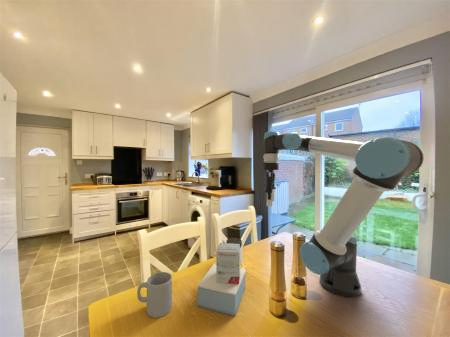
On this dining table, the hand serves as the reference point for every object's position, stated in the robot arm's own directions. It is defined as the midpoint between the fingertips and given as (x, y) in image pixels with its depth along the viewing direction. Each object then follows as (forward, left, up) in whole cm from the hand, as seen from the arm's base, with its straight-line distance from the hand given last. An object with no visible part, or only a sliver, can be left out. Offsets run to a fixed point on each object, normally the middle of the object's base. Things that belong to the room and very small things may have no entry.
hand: (270, 203), depth 99 cm
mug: (+36, +45, -32) cm, 66 cm away
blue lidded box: (+15, +31, -32) cm, 47 cm away
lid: (+15, +31, -24) cm, 42 cm away
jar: (+18, +5, -32) cm, 37 cm away
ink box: (+13, +31, -24) cm, 41 cm away
